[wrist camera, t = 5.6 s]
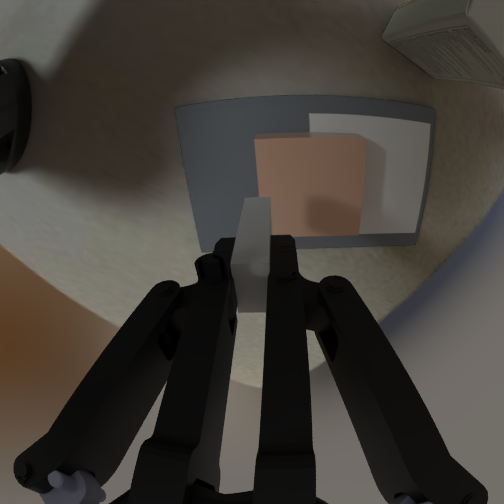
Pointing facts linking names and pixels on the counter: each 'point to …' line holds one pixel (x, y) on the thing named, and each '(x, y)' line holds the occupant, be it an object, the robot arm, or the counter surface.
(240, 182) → the mat
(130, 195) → the counter surface
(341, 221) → the tile
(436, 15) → the skincare box
